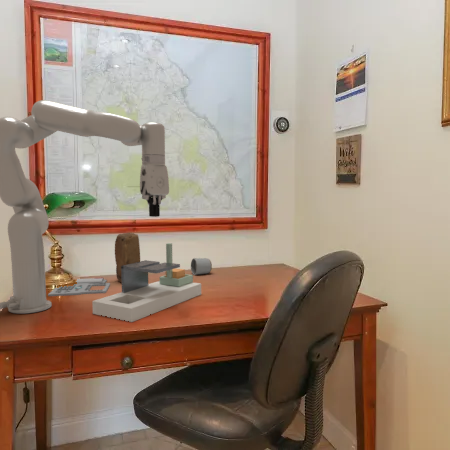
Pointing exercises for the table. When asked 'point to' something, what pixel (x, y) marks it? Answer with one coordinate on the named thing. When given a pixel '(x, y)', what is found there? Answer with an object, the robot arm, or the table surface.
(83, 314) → the table surface
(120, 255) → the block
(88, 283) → the blue-grey slotted plate
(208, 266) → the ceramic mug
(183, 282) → the green peg stand
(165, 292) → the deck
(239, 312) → the table surface
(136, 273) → the grey overhanging bracket
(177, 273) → the orange block
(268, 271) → the table surface
